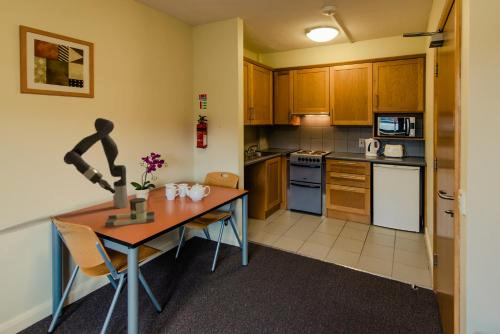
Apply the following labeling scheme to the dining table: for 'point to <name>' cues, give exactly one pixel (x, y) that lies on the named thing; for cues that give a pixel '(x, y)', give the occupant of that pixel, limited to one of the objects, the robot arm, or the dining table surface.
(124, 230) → the dining table surface
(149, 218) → the push track
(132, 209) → the coffee can
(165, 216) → the dining table surface
